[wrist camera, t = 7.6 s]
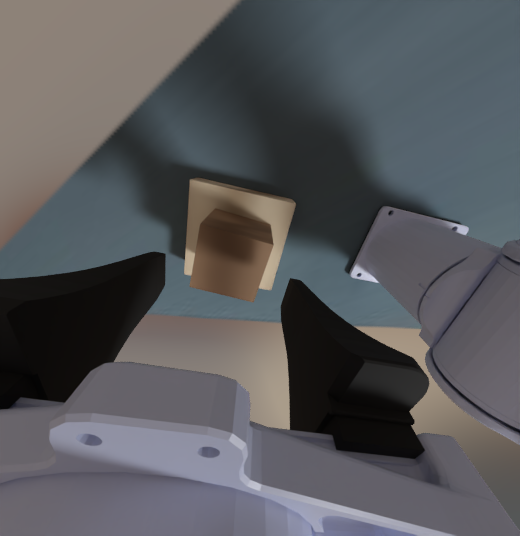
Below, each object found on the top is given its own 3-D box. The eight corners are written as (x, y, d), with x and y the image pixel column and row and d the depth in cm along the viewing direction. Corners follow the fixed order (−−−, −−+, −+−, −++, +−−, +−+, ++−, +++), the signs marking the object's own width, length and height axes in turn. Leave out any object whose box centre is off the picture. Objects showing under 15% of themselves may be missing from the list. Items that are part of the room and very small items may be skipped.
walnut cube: (270, 224, 18) (273, 244, 14) (254, 271, 21) (253, 302, 16) (215, 208, 18) (200, 223, 13) (205, 258, 20) (189, 286, 15)
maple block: (291, 198, 20) (296, 203, 18) (269, 276, 24) (271, 290, 22) (199, 177, 19) (189, 179, 17) (192, 261, 23) (184, 274, 21)
